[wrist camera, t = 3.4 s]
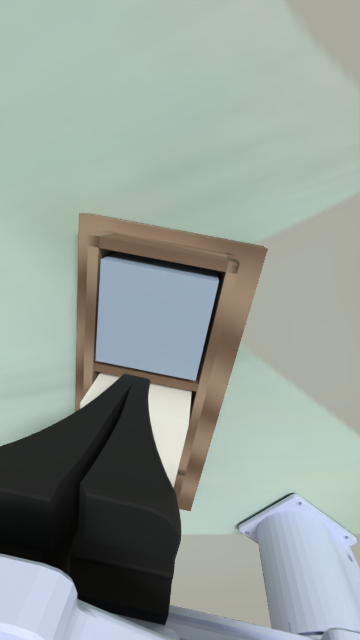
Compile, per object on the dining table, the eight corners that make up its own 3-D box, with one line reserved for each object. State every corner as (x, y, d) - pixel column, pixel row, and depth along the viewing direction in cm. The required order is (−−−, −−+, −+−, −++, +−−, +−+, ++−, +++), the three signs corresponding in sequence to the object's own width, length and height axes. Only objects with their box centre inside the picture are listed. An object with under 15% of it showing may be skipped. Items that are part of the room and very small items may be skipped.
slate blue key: (197, 355, 19) (195, 380, 16) (112, 338, 20) (95, 360, 17) (216, 269, 17) (218, 281, 14) (119, 251, 17) (100, 259, 14)
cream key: (176, 456, 21) (171, 496, 18) (96, 439, 21) (78, 477, 18) (191, 390, 18) (188, 425, 15) (100, 371, 18) (80, 402, 15)
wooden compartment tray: (191, 496, 28) (188, 546, 24) (80, 472, 28) (58, 518, 24) (263, 246, 18) (279, 256, 14) (88, 213, 18) (53, 213, 14)
